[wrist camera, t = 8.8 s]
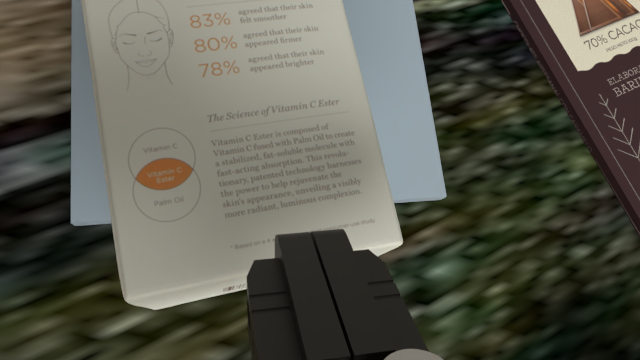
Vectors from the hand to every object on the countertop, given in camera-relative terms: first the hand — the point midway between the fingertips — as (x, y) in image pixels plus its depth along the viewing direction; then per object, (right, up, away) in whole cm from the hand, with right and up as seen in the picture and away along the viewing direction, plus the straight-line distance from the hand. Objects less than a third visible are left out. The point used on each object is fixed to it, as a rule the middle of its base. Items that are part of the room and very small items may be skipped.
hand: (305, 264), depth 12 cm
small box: (-1, -2, +6) cm, 6 cm away
